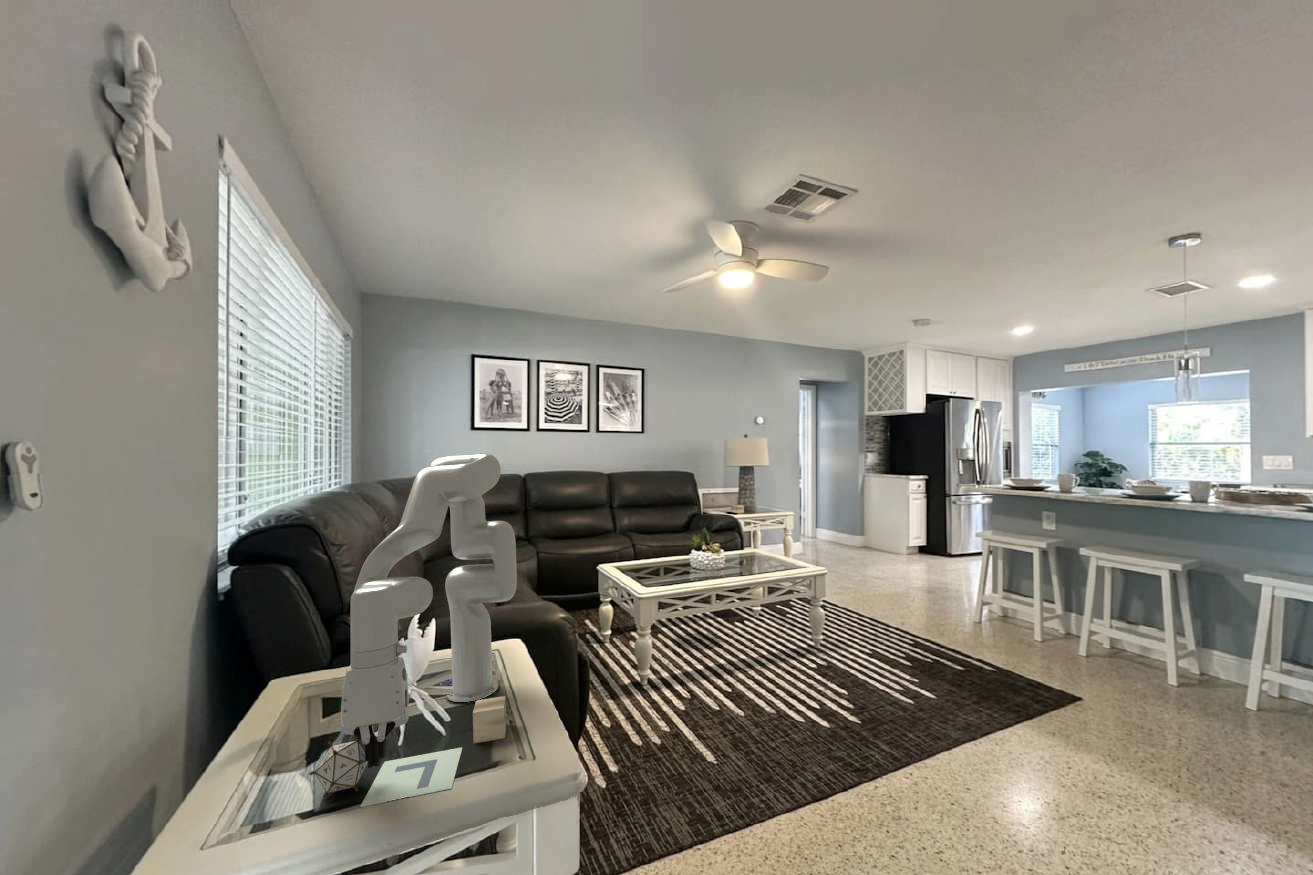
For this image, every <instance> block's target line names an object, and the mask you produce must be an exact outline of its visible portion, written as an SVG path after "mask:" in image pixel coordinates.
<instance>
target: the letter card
mask: <svg viewBox="0 0 1313 875" xmlns="http://www.w3.org/2000/svg"><path fill="white" fill-rule="evenodd" d="M462 752H463V747H456V748H451V749H445V750H440V751H436V752H435V751H433V752H430V753H423V754H419V755H414V756H413V755H412V756H408V757H403V758H397V759H392V760H386V761H384V762H383V764H382V765H381V767H380V769H379V771H378V772H377V775H376V777H375V779H374V781H373V782H372V784H371V786H370V788H369V790H368V792H367V794H366V795H365V797H364V798H363V800H362V803H361V804H360V806H359V807H360V808H364V807H368V806H374V805H378V804H384V803H388V802H387V801H389V802H393V801H392V800H393V799H399V800H402V799H401V797H405V796H406V797H409V798H414V797H418V796H422V795H423V796H424V795H428V794H432V793H434V794H435V793H438V792H442V791H447V790H452V789H453V785H454V781H455V777H456V773H457V770H458V765H459V762H460V758H461V754H462ZM413 796H414V797H413Z"/></svg>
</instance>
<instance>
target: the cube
mask: <svg viewBox="0 0 1313 875" xmlns="http://www.w3.org/2000/svg"><path fill="white" fill-rule="evenodd" d="M472 727H473V728H472V731H473V744H478V743H485V742H490V741H495V740H496V741H497V740H500V739H505V738H506V730H507V706H506V695H504V696H498V697H497V696H496V697H490V698H489V697H488V698H484V699H481V700H477V701H475V704H474V707H473V711H472Z"/></svg>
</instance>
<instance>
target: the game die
mask: <svg viewBox="0 0 1313 875" xmlns="http://www.w3.org/2000/svg"><path fill="white" fill-rule="evenodd" d="M360 741H361V740H360V739H359V738H358V737H357V739H355V740H350V741H345V742H343V743H342V742H341V743H337V744H333V742H331V741H328V743H327V744H328V746H329V749H328V750H327V752H326V754H325V755H324V757H323V758H322V760H321V761H320V763H319V764H318V765H317V768H316V769H315V770H312V771H311V772H309V773H308V775H310V776H313V775H315V777H317V779H318V780H319V782H320V785H321V786H322V788H323V790H324V791H325V793H324V795H323V800H325V799H327V797H328V796H329V794H330V793H335V792H339V791H343V790H348V789H351V788H352V789H354V791H355V792H358V790H359V787H358V786H357V784H358V782H359V780H360V779H361V777H362V776H363V773H364V772H365V770H366V768H367V767H368V761H365V748H363V746H362V744H361V742H360Z"/></svg>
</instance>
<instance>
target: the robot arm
mask: <svg viewBox="0 0 1313 875" xmlns="http://www.w3.org/2000/svg"><path fill="white" fill-rule="evenodd" d="M501 471H502V470H501V464H500V462H499V460H498V458H497V457H496V456H494V455H492V454H489V453H480V454H478V453H477V454H469V455H468V454H466V455H464V454H463V455H450V456H443V457H439V458H437V459H435V460H433V461H432V462H431V463H430V466H429V467H425V468H424V469H423V468H422V469H421V470H420V471H419V472H418V473H417V474H416V476H415V477H414V480H413V483H412V487H411V489H410V492H409V495H408V498H407V501H406V505H405V508H404V509H403V510H404V511H403V513H402V517H401V518H400V519H401V520H400V522H399V525H398V526H397V527H396V529H395V530H393V531H392V532H391V533H390V534H388V535H387V536H386V537H385V538H384V539H383V540H382V541H381V542H380V543H379V544H377V546H376V547H374V549H373V550H372V551H371V552H370V553H369V555H368V556H367V557H366V559H365V561H364V562H363V565H362V567H361V570H360V572H359V575H358V578H357V580H356V584H355V586H354V588H353V589H354V590H353V592H352V594H351V597H350V665H349V666H348V667H347V669H346V670H345V671H346V672H345V677H344V680H343V686H342V693H341V694H342V695H341V705H340V725H341V728H340V734H341V735H351V736H352V735H353V736H355V737H357V739H358V738H359V739H360V740H359V741H361V743H362V744H363V745H364V751H365V761H368V764H367V767H368V769H370V768H373V767H375V768H376V767H379V766H380V765H381V762H382V761H383V760H384V758H386V754H387V737H388V735H389V734H390V733H391V731H393V730H394V729H395V728H398V727H401V726H403V725H406V724H407V723H408V722H409V719H410V717H409V713H408V709H409V701H410V699H409V698H410V697H409V696H410V695H409V686H408V685H409V684H408V683H409V682H408V676H407V674H408V673H407V669H406V668H407V667H406V664H405V659H404V657H402V656H400V655H403V654H406V653H407V652H408V646H407V644H406V645H403V644H400V641H399V623H398V622H399V620H400V619H405V618H411V617H415V616H417V615H419V614H422V613H423V612H425V610H427V608H428V607H429V606H430V605H431V603H432V600H433V598H434V591H433V590H434V589H433V585H432V584H431V583H430V581H429V580H428V579H426V578H423V577H420V576H402V577H401V576H398V577H397V576H395V577H388V575H389V574H390V571H391V570H392V568H393V567H394V566H395V565H396V564H397V563H398V562H399V561H401V560H402V559H403V558H404V557H407V556H408V555H410V554H411V553H413V552H415V551H417V550H419V549H422V548H424V547H425V546H427V545H429V544H431V543H432V542H435V541H436V540H437V539H439V538H440V536H441V534H442V531H443V527H444V523H445V519H446V516H447V513H448V509H449V511H450V512H449V514H450V515H449V516H450V518H449V519H450V543H451V544H450V545H451V553H452V555H453V556H454V557H455V558H456V559H458V560H469V561H470V560H471V561H472V560H473V561H474V560H489V559H490V560H492V561H493V563H479V564H465V565H460V566H457V567H454V568H452V569H451V571H449V572H448V574H447V576H446V578H445V584H444V585H445V586H444V587H445V593H446V594H445V595H446V598H447V603H448V607H449V609H448V610H449V615H450V616H449V618H450V637H451V638H450V641H451V642H450V644H451V646H450V647H451V649H450V650H451V679H452V681H451V682H452V687H453V694H450V695H447V697H448V698H449V699H450V700H452V701H456V702H466V701H468V703H470V702H469V701H474V702H476V701H475V700H479V699H481V698H483V697H485V696H486V695H488V694H489V693H492V692H493V691H494V690H495V688H494V687H492V684H493V679H494V678H493V658H492V657H493V655H492V654H493V652H492V629H491V627H492V623H491V622H492V621H491V615H490V614H489V611H488V610H487V608H486V606H485V605H484V604H487V603H504V602H508V601H510V600H511V599H512V598H513V597H514V596H515V594H516V591H517V584H518V576H517V575H518V572H517V569H518V568H517V544H516V543H517V541H516V536H515V535H516V534H515V531H514V528H513V526H512V525H511V524H510V523H509V522H507V521H505V520H491V521H489V520H488V521H487V520H486V508H485V506H486V504H485V501H484V498H483V497H482V496H483V495H484V494H486V493H487V492H488V491H490V490H491V489H493V488H494V487H495V486H496V485H497V484H498V482H499V481H500V480H499V479H500V478H501ZM491 689H492V690H491ZM451 695H453V696H451ZM481 700H482V699H481ZM374 725H378V729H377V734H376V733H375V729H374Z"/></svg>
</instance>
